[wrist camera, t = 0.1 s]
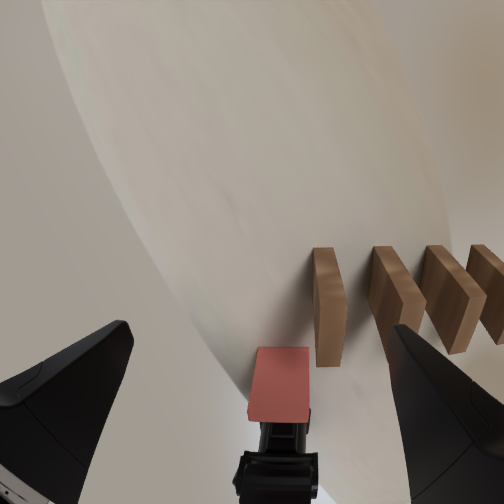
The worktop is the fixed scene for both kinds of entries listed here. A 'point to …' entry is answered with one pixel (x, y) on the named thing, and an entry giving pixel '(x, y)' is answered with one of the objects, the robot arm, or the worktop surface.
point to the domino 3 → (393, 294)
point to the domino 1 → (280, 385)
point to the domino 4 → (450, 298)
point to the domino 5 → (489, 288)
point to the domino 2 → (328, 308)
